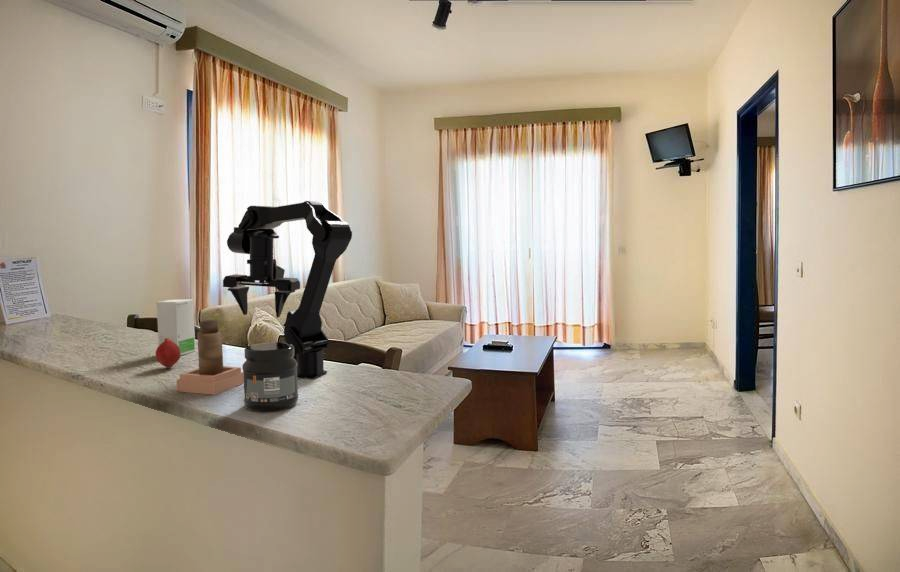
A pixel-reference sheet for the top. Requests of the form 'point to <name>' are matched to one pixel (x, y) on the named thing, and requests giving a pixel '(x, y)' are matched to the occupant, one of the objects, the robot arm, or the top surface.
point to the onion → (168, 353)
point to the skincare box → (177, 323)
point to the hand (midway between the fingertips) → (261, 315)
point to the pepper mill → (210, 348)
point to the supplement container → (270, 377)
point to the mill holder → (210, 381)
